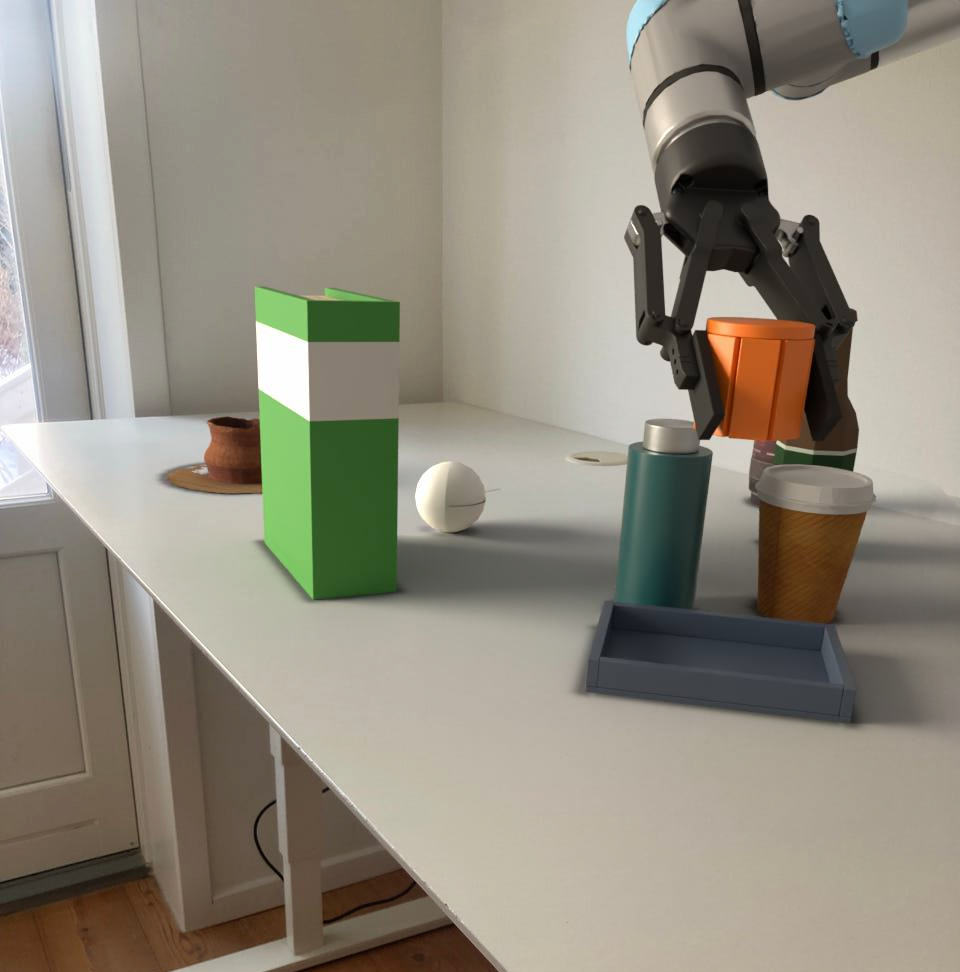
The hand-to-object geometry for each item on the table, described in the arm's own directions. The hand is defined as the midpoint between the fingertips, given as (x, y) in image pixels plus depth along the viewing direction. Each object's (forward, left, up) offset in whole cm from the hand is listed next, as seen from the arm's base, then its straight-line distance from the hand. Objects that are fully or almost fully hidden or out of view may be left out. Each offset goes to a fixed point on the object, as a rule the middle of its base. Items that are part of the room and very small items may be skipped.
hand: (770, 428), depth 65 cm
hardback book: (+36, -18, -19) cm, 45 cm away
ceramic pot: (+58, -49, -19) cm, 78 cm away
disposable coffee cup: (-6, -19, -19) cm, 27 cm away
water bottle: (+6, -15, -19) cm, 24 cm away
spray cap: (+1, -3, -1) cm, 4 cm away
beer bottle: (-8, -40, -19) cm, 45 cm away
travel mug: (-7, -59, -19) cm, 62 cm away
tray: (+1, -3, -19) cm, 19 cm away
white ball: (+27, -35, -19) cm, 48 cm away
